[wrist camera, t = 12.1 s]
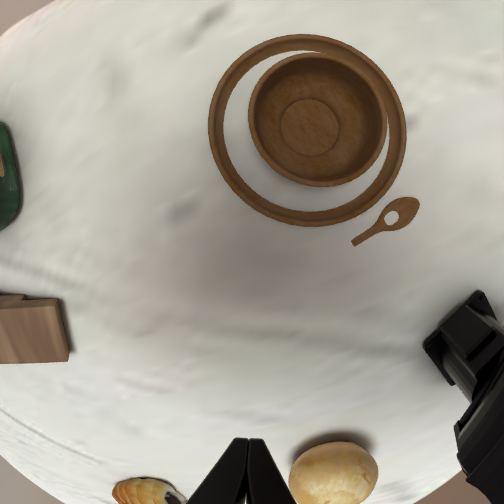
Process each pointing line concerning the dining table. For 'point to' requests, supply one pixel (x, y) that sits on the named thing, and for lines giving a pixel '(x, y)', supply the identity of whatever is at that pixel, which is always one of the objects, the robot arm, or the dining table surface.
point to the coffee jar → (7, 180)
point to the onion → (333, 474)
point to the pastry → (146, 492)
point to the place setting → (317, 127)
